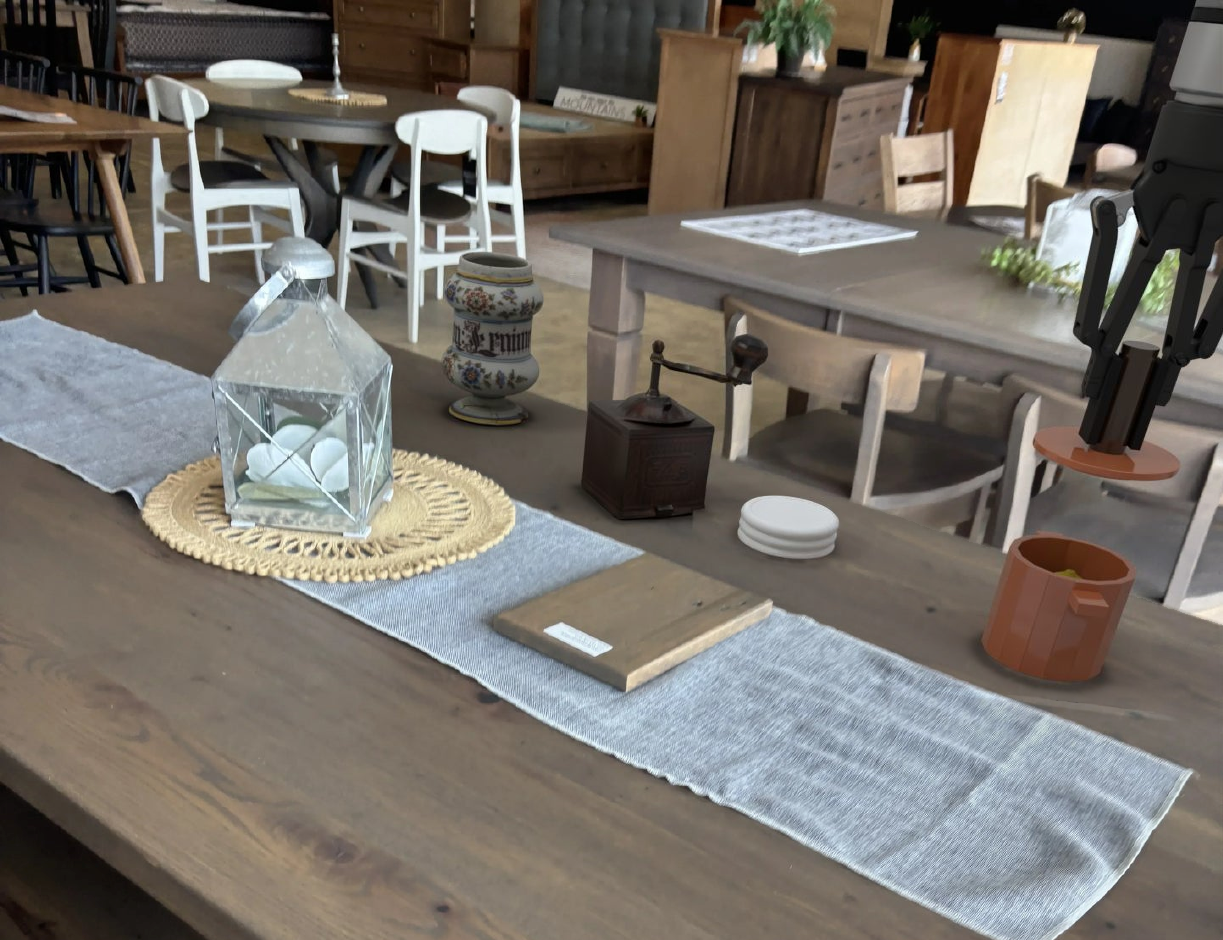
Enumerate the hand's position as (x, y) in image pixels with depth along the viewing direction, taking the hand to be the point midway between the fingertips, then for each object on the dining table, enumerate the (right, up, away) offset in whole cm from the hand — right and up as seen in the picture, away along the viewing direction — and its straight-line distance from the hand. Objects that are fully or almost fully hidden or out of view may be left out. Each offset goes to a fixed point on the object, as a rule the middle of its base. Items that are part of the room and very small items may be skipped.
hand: (1108, 441), depth 96 cm
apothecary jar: (-55, +20, +54) cm, 80 cm away
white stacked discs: (-22, -2, +28) cm, 35 cm away
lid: (0, -1, +1) cm, 1 cm away
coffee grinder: (-34, +4, +35) cm, 49 cm away
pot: (-2, -16, +11) cm, 19 cm away
